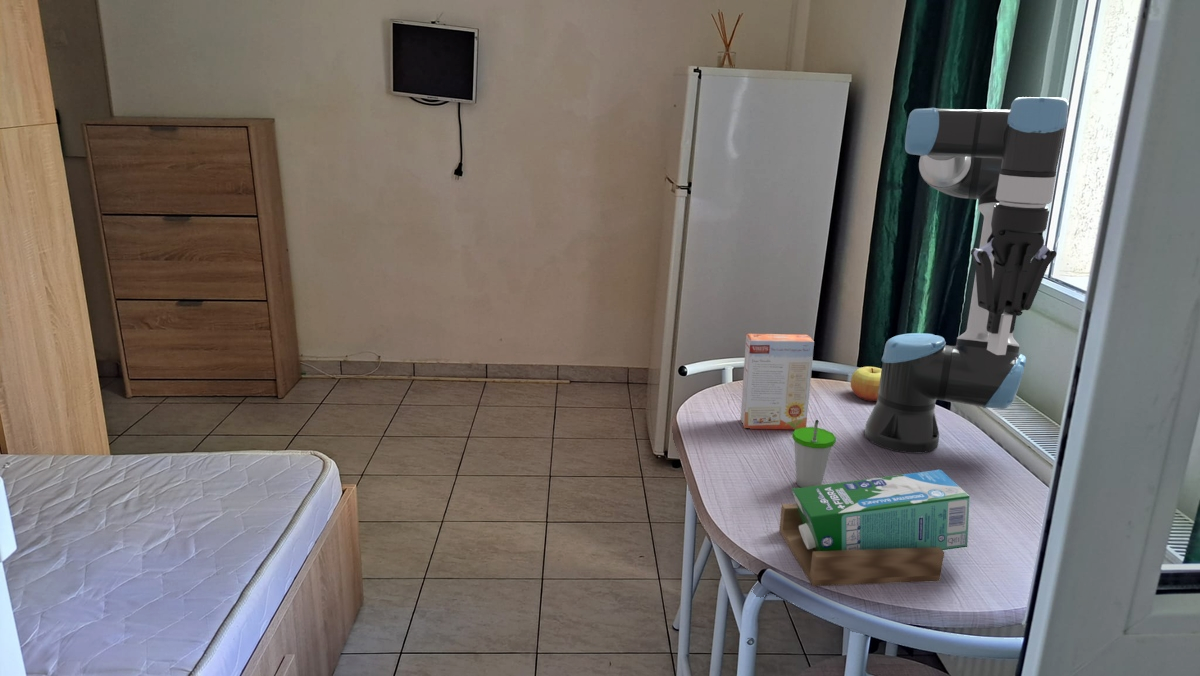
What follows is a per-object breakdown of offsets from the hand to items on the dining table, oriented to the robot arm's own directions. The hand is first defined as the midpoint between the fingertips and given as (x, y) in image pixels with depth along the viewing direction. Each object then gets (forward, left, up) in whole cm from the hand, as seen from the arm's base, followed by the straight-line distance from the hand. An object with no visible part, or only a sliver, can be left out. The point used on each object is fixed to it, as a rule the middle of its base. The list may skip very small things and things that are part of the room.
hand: (996, 352), depth 125 cm
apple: (-11, -63, -32) cm, 71 cm away
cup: (+21, -18, -32) cm, 42 cm away
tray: (+22, +6, -32) cm, 40 cm away
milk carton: (+7, +7, -24) cm, 26 cm away
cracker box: (+19, -47, -32) cm, 60 cm away
